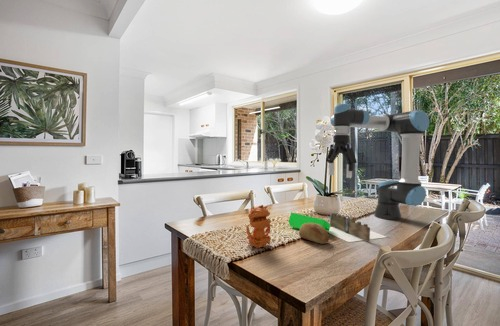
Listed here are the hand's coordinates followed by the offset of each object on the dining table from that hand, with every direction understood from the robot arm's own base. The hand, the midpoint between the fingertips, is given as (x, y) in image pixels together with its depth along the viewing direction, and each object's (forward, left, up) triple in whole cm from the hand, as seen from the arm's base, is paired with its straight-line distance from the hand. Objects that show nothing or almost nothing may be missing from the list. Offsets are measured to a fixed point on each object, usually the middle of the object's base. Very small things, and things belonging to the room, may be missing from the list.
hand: (339, 176), depth 132 cm
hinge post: (-1, +6, -28) cm, 29 cm away
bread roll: (+22, +10, -28) cm, 37 cm away
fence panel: (-1, +13, -27) cm, 30 cm away
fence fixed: (-1, -1, -28) cm, 28 cm away
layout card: (-4, +5, -28) cm, 29 cm away
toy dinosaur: (+48, +9, -28) cm, 56 cm away
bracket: (+14, -5, -28) cm, 32 cm away
